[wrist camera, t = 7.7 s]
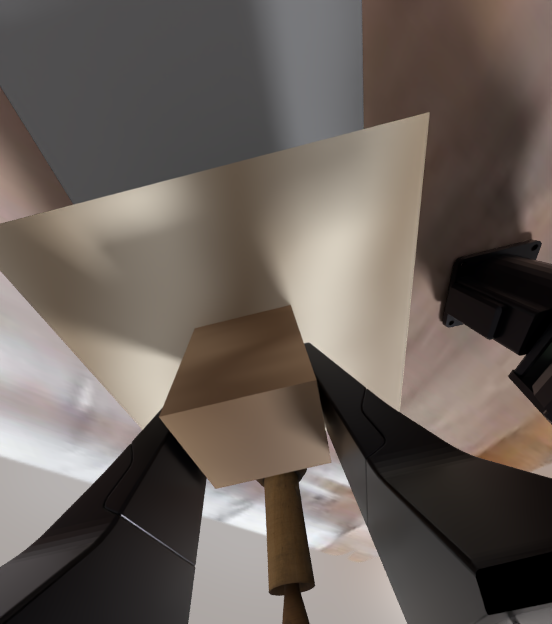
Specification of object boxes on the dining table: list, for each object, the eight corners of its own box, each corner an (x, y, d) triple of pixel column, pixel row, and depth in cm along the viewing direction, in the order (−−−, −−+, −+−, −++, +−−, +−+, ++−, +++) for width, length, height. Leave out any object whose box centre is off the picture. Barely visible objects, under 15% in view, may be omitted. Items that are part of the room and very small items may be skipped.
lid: (411, 119, 7) (653, 15, 3) (392, 402, 14) (452, 494, 10) (-7, 228, 7) (-355, 281, 3) (178, 452, 14) (148, 561, 10)
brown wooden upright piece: (245, 463, 29) (239, 790, 13) (262, 434, 26) (280, 802, 10) (291, 468, 30) (335, 762, 15) (312, 441, 28) (391, 766, 12)
